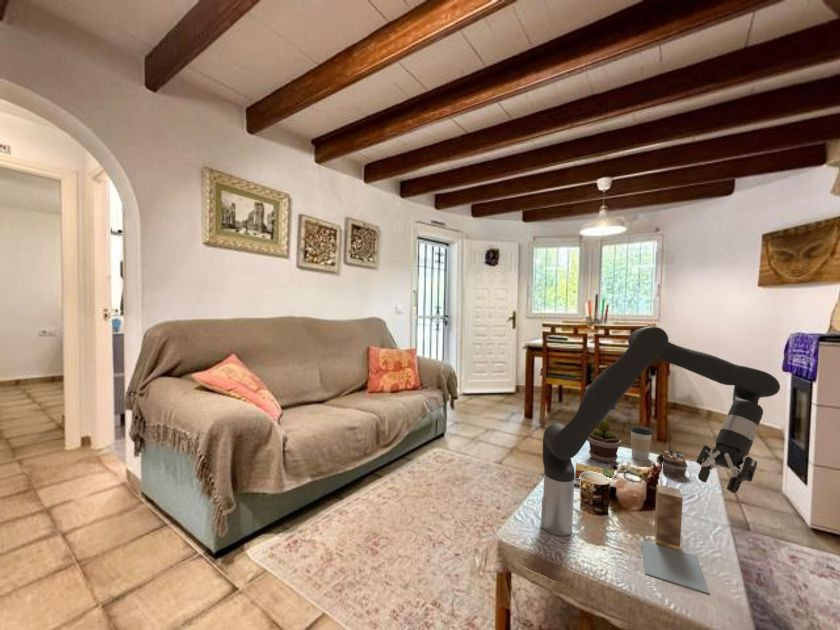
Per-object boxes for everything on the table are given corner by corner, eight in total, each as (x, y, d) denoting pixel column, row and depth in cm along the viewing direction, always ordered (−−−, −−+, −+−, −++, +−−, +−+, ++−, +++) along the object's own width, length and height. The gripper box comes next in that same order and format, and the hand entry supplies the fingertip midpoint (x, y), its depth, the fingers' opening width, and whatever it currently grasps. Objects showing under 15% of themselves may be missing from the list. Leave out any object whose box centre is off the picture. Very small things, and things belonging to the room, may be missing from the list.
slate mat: (645, 574, 100) (645, 573, 100) (641, 541, 114) (641, 540, 114) (709, 594, 93) (709, 593, 93) (696, 556, 107) (697, 555, 107)
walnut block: (656, 543, 113) (658, 492, 112) (654, 533, 118) (656, 484, 118) (679, 550, 110) (682, 497, 110) (676, 539, 115) (679, 489, 115)
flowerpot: (619, 469, 165) (621, 425, 164) (582, 460, 173) (584, 418, 173) (622, 458, 177) (624, 417, 176) (587, 450, 185) (589, 411, 185)
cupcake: (655, 471, 164) (657, 448, 164) (668, 467, 169) (669, 445, 168) (679, 480, 156) (680, 457, 155) (691, 476, 160) (692, 453, 160)
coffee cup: (630, 451, 186) (631, 422, 185) (651, 456, 180) (653, 426, 180) (628, 457, 178) (629, 427, 178) (650, 462, 173) (651, 431, 173)
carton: (575, 471, 162) (575, 462, 162) (616, 479, 156) (617, 469, 155) (575, 479, 154) (576, 469, 154) (618, 488, 148) (619, 478, 148)
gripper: (704, 423, 113) (683, 471, 110) (752, 433, 99) (730, 488, 96) (722, 436, 114) (702, 484, 111) (773, 447, 100) (752, 502, 97)
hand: (715, 486), depth 103 cm, fingers open, 8 cm apart
